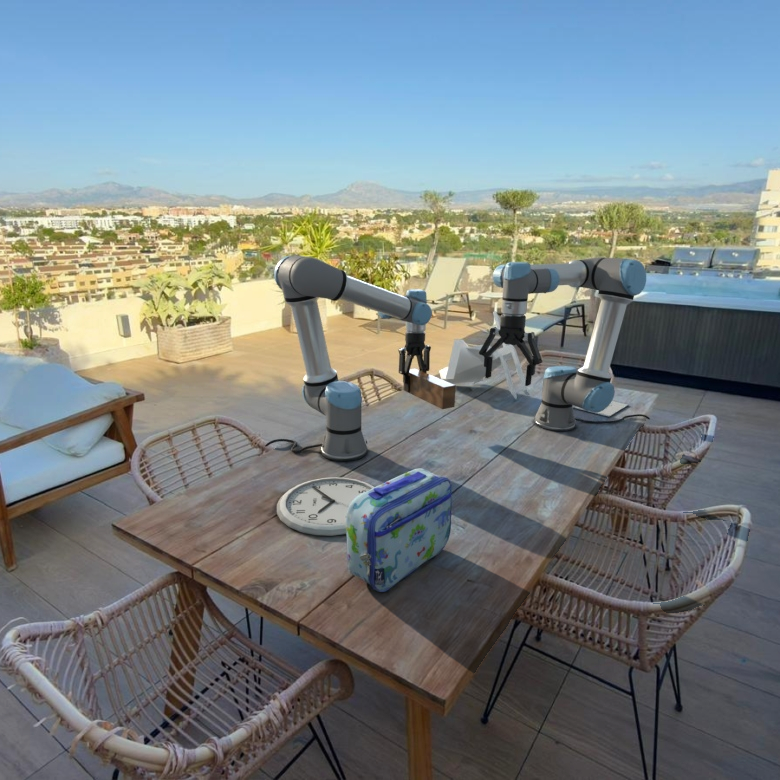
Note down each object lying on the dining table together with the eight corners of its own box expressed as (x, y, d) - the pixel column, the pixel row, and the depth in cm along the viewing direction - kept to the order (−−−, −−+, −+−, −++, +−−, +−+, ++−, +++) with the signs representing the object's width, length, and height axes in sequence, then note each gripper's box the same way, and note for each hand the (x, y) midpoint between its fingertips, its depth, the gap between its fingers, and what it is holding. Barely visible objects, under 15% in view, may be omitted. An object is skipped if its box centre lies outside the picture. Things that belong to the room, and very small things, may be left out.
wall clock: (392, 527, 129) (268, 531, 127) (391, 533, 130) (269, 537, 127) (383, 473, 158) (282, 475, 155) (383, 478, 158) (282, 480, 156)
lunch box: (374, 604, 105) (375, 512, 99) (340, 579, 113) (339, 492, 106) (455, 552, 123) (460, 471, 117) (421, 533, 130) (424, 456, 124)
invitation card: (608, 416, 214) (573, 407, 224) (608, 416, 214) (573, 408, 224) (628, 404, 229) (594, 396, 238) (628, 405, 229) (594, 397, 238)
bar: (454, 407, 187) (455, 385, 185) (442, 409, 184) (443, 387, 182) (414, 388, 208) (415, 368, 206) (403, 390, 206) (403, 370, 203)
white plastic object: (461, 429, 252) (437, 405, 227) (444, 352, 274) (420, 323, 250) (535, 404, 240) (518, 377, 215) (510, 326, 262) (492, 293, 237)
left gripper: (429, 327, 205) (427, 384, 212) (389, 331, 196) (388, 390, 203) (441, 331, 199) (438, 389, 206) (399, 335, 189) (398, 396, 196)
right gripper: (471, 311, 164) (467, 376, 170) (548, 320, 150) (541, 391, 156) (482, 308, 170) (478, 371, 176) (557, 317, 155) (550, 385, 162)
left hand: (413, 389), depth 204 cm, fingers closed on bar, 5 cm apart
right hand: (507, 381), depth 166 cm, fingers open, 13 cm apart
